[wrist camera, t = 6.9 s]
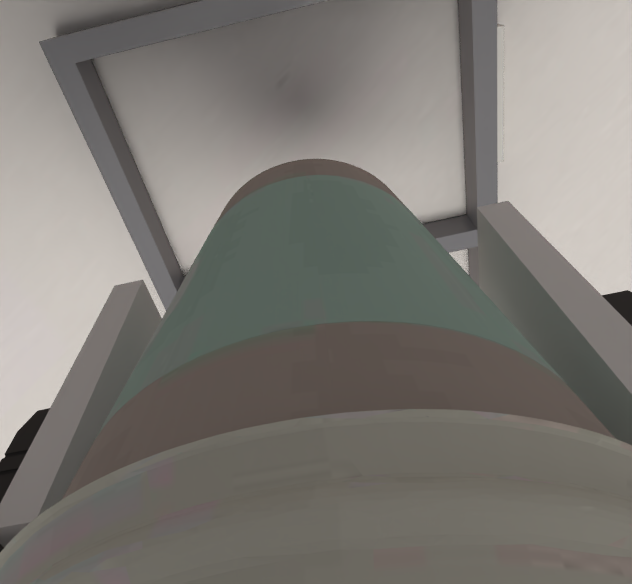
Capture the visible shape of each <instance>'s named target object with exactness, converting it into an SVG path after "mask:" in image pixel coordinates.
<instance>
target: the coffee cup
mask: <svg viewBox="0 0 632 584" xmlns="http://www.w3.org/2000/svg"><path fill="white" fill-rule="evenodd" d="M0 584H632V445H630V444H627V443H625V442H622V441H620V440H617V439H615V437H614V436H613V435H612V434H611V433H610V432H609V431H608V430H607V428H606V427H605V426H604V425H603V424H602V423H601V422H600V421H599V420H598V418H597V417H596V416H595V415H594V414H593V413H592V412H591V411H590V409H589V408H588V407H587V406H586V405H585V404H584V403H583V402H582V401H581V399H580V398H579V397H578V396H577V395H576V394H575V392H574V391H573V390H572V389H571V388H570V387H569V386H568V385H567V383H566V382H565V381H564V380H563V379H562V378H561V377H560V376H559V375H558V374H557V372H556V371H555V370H554V369H553V368H552V367H551V366H550V365H549V364H548V362H547V361H546V360H545V359H544V358H543V357H542V356H541V355H540V354H539V353H538V351H537V350H536V349H535V348H534V347H533V346H532V345H531V344H530V343H529V342H528V340H527V339H526V338H525V337H524V336H523V335H522V334H521V333H520V332H519V330H518V329H517V328H516V327H515V326H514V325H513V324H512V323H511V322H510V321H509V319H508V318H507V317H506V316H505V315H504V314H503V313H502V312H501V311H500V310H499V308H498V307H497V306H496V305H495V304H494V303H493V302H492V301H491V300H490V298H489V297H488V296H487V295H486V294H485V293H484V292H483V291H482V290H481V289H480V287H479V286H478V285H477V284H476V283H475V282H474V281H473V280H472V279H471V277H470V276H469V275H468V274H467V273H466V272H465V271H464V270H463V269H462V268H461V266H460V265H459V264H458V263H457V262H456V261H455V260H454V259H453V258H452V257H451V255H450V254H449V253H448V252H447V251H446V250H445V249H444V248H443V247H442V245H441V244H440V243H439V242H438V241H437V240H436V239H435V238H434V237H433V236H432V234H431V233H430V232H429V231H428V230H427V229H426V228H425V227H424V226H423V225H422V223H421V222H420V221H419V220H418V219H417V218H416V217H415V216H414V215H413V213H412V212H411V211H410V210H409V209H408V208H407V207H406V206H405V205H404V204H403V203H402V202H401V201H400V200H399V199H398V198H397V196H396V195H395V194H394V193H393V192H392V191H391V190H390V189H389V188H388V187H387V186H386V185H385V184H384V183H383V182H381V181H380V180H379V179H377V178H376V177H375V176H373V175H372V174H370V173H368V172H366V171H364V170H362V169H360V168H358V167H356V166H353V165H350V164H347V163H343V162H339V161H334V160H326V159H304V160H297V161H292V162H287V163H284V164H281V165H278V166H275V167H272V168H270V169H268V170H266V171H264V172H262V173H260V174H259V175H257V176H255V177H254V178H252V179H251V180H250V181H248V182H247V183H246V184H245V185H243V186H242V187H241V188H240V189H239V190H238V191H237V192H236V193H235V194H234V196H233V197H232V198H231V199H230V201H229V202H228V204H227V205H226V207H225V208H224V210H223V212H222V213H221V215H220V217H219V219H218V220H217V222H216V224H215V226H214V227H213V229H212V231H211V232H210V234H209V236H208V238H207V239H206V241H205V243H204V245H203V247H202V248H201V250H200V252H199V254H198V255H197V257H196V259H195V261H194V263H193V264H192V266H191V268H190V270H189V272H188V273H187V275H186V277H185V279H184V281H183V282H182V284H181V286H180V288H179V289H178V291H177V293H176V295H175V297H174V298H173V300H172V302H171V304H170V306H169V307H168V309H167V311H166V313H165V315H164V316H163V318H162V320H161V322H160V323H159V325H158V327H157V329H156V331H155V332H154V334H153V336H152V338H151V340H150V341H149V343H148V345H147V347H146V349H145V350H144V352H143V354H142V356H141V357H140V359H139V361H138V363H137V365H136V366H135V368H134V370H133V372H132V374H131V375H130V377H129V379H128V381H127V383H126V384H125V386H124V388H123V390H122V391H121V393H120V395H119V397H118V399H117V400H116V402H115V404H114V406H113V408H112V409H111V411H110V413H109V415H108V417H107V418H106V420H105V422H104V424H103V425H102V427H101V429H100V431H99V433H98V434H97V436H96V438H95V440H94V442H93V443H92V445H91V447H90V449H89V451H88V453H87V455H86V457H85V458H84V460H83V462H82V464H81V466H80V468H79V469H78V471H77V473H76V475H75V477H74V478H73V480H72V482H71V484H70V486H69V488H68V489H67V491H66V493H65V495H64V497H63V498H62V500H61V501H59V502H58V503H56V504H54V505H53V506H52V507H50V508H49V509H47V510H46V511H44V512H43V513H42V514H40V515H39V516H38V517H37V518H35V519H34V520H33V521H32V522H30V523H29V524H28V525H27V526H26V527H24V528H23V529H22V530H21V531H20V532H19V533H18V534H17V535H16V536H15V537H14V538H13V539H12V540H11V541H10V542H9V543H8V544H7V545H6V546H5V547H4V549H3V550H2V551H1V552H0Z"/></svg>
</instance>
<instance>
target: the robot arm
mask: <svg viewBox="0 0 632 584" xmlns="http://www.w3.org/2000/svg"><path fill="white" fill-rule="evenodd" d="M477 231H478V265H479V287H480V289H481V290H482V291H483V292H484V293H485V294H486V295H487V296H488V297H489V298H490V300H491V301H492V302H493V303H494V304H495V305H496V306H497V307H498V308H499V310H500V311H501V312H502V313H503V314H504V315H505V316H506V317H507V318H508V319H509V321H510V322H511V323H512V324H513V325H514V326H515V327H516V328H517V329H518V330H519V332H520V333H521V334H522V335H523V336H524V337H525V338H526V339H527V340H528V342H529V343H530V344H531V345H532V346H533V347H534V348H535V349H536V350H537V351H538V353H539V354H540V355H541V356H542V357H543V358H544V359H545V360H546V361H547V362H548V364H549V365H550V366H551V367H552V368H553V369H554V370H555V371H556V372H557V374H558V375H559V376H560V377H561V378H562V379H563V380H564V381H565V382H566V383H567V385H568V386H569V387H570V388H571V389H572V390H573V391H574V392H575V394H576V395H577V396H578V397H579V398H580V399H581V401H582V402H583V403H584V404H585V405H586V406H587V407H588V408H589V409H590V411H591V412H592V413H593V414H594V415H595V416H596V417H597V418H598V420H599V421H600V422H601V423H602V424H603V425H604V426H605V427H606V428H607V430H608V431H609V432H610V433H611V434H612V435H613V436H614V437H615V439H617V440H620V441H622V442H625V443H627V444H630V445H632V292H630V291H628V290H627V291H622V292H617V293H612V294H607V295H601V294H600V293H599V292H598V291H597V290H596V289H595V288H594V287H593V286H592V285H591V284H590V283H589V282H588V281H587V280H586V279H585V278H584V277H583V276H582V275H581V274H580V273H579V272H578V271H577V270H576V269H575V268H574V267H573V266H572V265H571V264H570V263H569V262H568V261H567V260H566V259H565V258H564V257H563V256H562V255H561V254H560V253H559V252H558V251H557V250H556V249H555V248H554V247H553V246H552V245H551V244H550V243H549V242H548V241H547V240H546V239H545V238H544V237H543V236H542V235H541V234H540V233H539V232H538V231H537V230H536V229H535V228H534V227H533V226H532V225H531V224H530V223H529V222H528V221H527V220H526V219H525V218H524V217H523V216H522V215H521V213H520V212H519V211H518V210H517V209H516V208H515V207H514V206H513V205H512V204H511V203H510V202H509V201H505V202H500V203H495V204H491V205H486V206H482V207H477ZM161 320H162V318H161V316H160V314H159V312H158V310H157V308H156V306H155V304H154V302H153V300H152V298H151V295H150V293H149V291H148V289H147V287H146V285H145V283H144V281H143V280H139V281H135V282H130V283H125V284H121V285H116V286H114V288H113V290H112V292H111V294H110V295H109V297H108V299H107V301H106V303H105V305H104V307H103V309H102V311H101V313H100V314H99V316H98V318H97V320H96V322H95V324H94V326H93V328H92V330H91V332H90V334H89V335H88V337H87V339H86V341H85V343H84V345H83V347H82V349H81V351H80V353H79V354H78V356H77V358H76V360H75V362H74V364H73V366H72V368H71V370H70V372H69V373H68V375H67V377H66V379H65V381H64V383H63V385H62V387H61V389H60V391H59V392H58V394H57V396H56V398H55V400H54V402H53V404H52V406H51V408H49V409H44V410H39V411H37V412H36V413H35V414H34V415H33V416H32V417H31V418H30V419H29V420H28V421H27V422H26V423H25V424H24V426H23V427H22V428H21V429H20V430H19V431H18V432H17V433H16V435H15V437H14V439H13V441H12V442H11V444H10V446H9V448H8V449H7V451H6V453H5V458H3V459H2V460H1V462H0V552H1V551H2V550H3V549H4V547H5V546H6V545H7V544H8V543H9V542H10V541H11V540H12V539H13V538H14V537H15V536H16V535H17V534H18V533H19V532H20V531H21V530H22V529H23V528H24V527H26V526H27V525H28V524H29V523H30V522H32V521H33V520H34V519H35V518H37V517H38V516H39V515H40V514H42V513H43V512H44V511H46V510H47V509H49V508H50V507H52V506H53V505H54V504H56V503H58V502H59V501H61V500H62V498H63V497H64V495H65V493H66V491H67V489H68V488H69V486H70V484H71V482H72V480H73V478H74V477H75V475H76V473H77V471H78V469H79V468H80V466H81V464H82V462H83V460H84V458H85V457H86V455H87V453H88V451H89V449H90V447H91V445H92V443H93V442H94V440H95V438H96V436H97V434H98V433H99V431H100V429H101V427H102V425H103V424H104V422H105V420H106V418H107V417H108V415H109V413H110V411H111V409H112V408H113V406H114V404H115V402H116V400H117V399H118V397H119V395H120V393H121V391H122V390H123V388H124V386H125V384H126V383H127V381H128V379H129V377H130V375H131V374H132V372H133V370H134V368H135V366H136V365H137V363H138V361H139V359H140V357H141V356H142V354H143V352H144V350H145V349H146V347H147V345H148V343H149V341H150V340H151V338H152V336H153V334H154V332H155V331H156V329H157V327H158V325H159V323H160V322H161Z"/></svg>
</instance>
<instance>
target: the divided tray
mask: <svg viewBox="0 0 632 584" xmlns="http://www.w3.org/2000/svg"><path fill="white" fill-rule="evenodd" d="M324 1H328V0H200V1H196V2H192V3H188V4H184V5H180V6H176V7H172V8H168V9H164V10H160V11H156V12H152V13H148V14H144V15H140V16H136V17H132V18H128V19H124V20H120V21H116V22H112V23H108V24H104V25H100V26H96V27H92V28H88V29H84V30H80V31H76V32H72V33H69V34H65V35H61V36H57V37H53V38H50V39H47V40H44V41H40V42H39V43H40V45H41V47H42V49H43V51H44V54H45V56H46V58H47V60H48V62H49V64H50V66H51V68H52V71H53V73H54V75H55V77H56V79H57V81H58V83H59V85H60V87H61V90H62V92H63V94H64V96H65V98H66V100H67V102H68V104H69V106H70V109H71V111H72V113H73V115H74V117H75V119H76V121H77V123H78V125H79V128H80V130H81V132H82V134H83V136H84V138H85V140H86V142H87V145H88V147H89V149H90V151H91V153H92V155H93V157H94V159H95V161H96V164H97V166H98V168H99V170H100V172H101V174H102V176H103V178H104V180H105V183H106V185H107V187H108V189H109V191H110V193H111V195H112V197H113V199H114V202H115V204H116V206H117V208H118V210H119V212H120V214H121V216H122V219H123V221H124V223H125V225H126V227H127V229H128V231H129V233H130V235H131V238H132V240H133V242H134V244H135V246H136V248H137V250H138V252H139V254H140V257H141V259H142V261H143V263H144V265H145V267H146V269H147V271H148V273H149V276H150V278H151V280H152V282H153V284H154V286H155V288H156V290H157V293H158V295H159V297H160V299H161V301H162V303H163V305H164V307H165V309H166V311H167V309H168V307H169V306H170V304H171V302H172V300H173V298H174V297H175V295H176V293H177V291H178V289H179V288H180V286H181V284H182V282H183V281H184V279H185V277H186V276H183V274H182V272H181V269H180V267H179V265H178V262H177V260H176V258H175V255H174V253H173V251H172V248H171V246H170V244H169V241H168V239H167V237H166V234H165V232H164V230H163V227H162V225H161V223H160V220H159V218H158V215H157V213H156V211H155V208H154V206H153V204H152V201H151V199H150V197H149V194H148V192H147V190H146V187H145V185H144V183H143V180H142V178H141V176H140V173H139V171H138V169H137V166H136V164H135V162H134V159H133V157H132V155H131V152H130V150H129V148H128V145H127V143H126V141H125V138H124V136H123V134H122V131H121V129H120V127H119V124H118V122H117V120H116V117H115V115H114V113H113V110H112V108H111V106H110V103H109V101H108V98H107V96H106V94H105V91H104V89H103V87H102V84H101V82H100V80H99V77H98V75H97V73H96V70H95V68H94V66H93V63H92V61H91V59H94V58H98V57H102V56H106V55H110V54H114V53H118V52H122V51H126V50H130V49H134V48H138V47H142V46H146V45H150V44H154V43H158V42H162V41H166V40H170V39H174V38H179V37H183V36H187V35H191V34H195V33H199V32H203V31H207V30H211V29H215V28H219V27H223V26H227V25H231V24H235V23H239V22H243V21H247V20H251V19H255V18H259V17H263V16H267V15H271V14H275V13H279V12H284V11H288V10H292V9H296V8H300V7H304V6H308V5H312V4H316V3H320V2H324ZM458 10H459V35H460V60H461V85H462V110H463V135H464V159H465V184H466V209H467V215H463V216H459V217H454V218H449V219H445V220H440V221H435V222H431V223H426V224H422V225H423V226H424V227H425V228H426V229H427V230H428V231H429V232H430V233H431V234H432V236H433V237H434V238H435V239H436V240H437V241H438V242H439V243H440V244H441V245H442V247H443V248H444V249H445V250H446V251H447V252H448V253H449V252H454V251H459V250H463V249H468V259H469V276H470V277H471V279H472V280H473V281H474V282H475V283H476V284H477V285H478V286H479V265H478V231H477V207H482V206H486V205H491V204H495V203H497V163H498V162H503V161H504V25H500V24H497V0H458Z"/></svg>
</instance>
